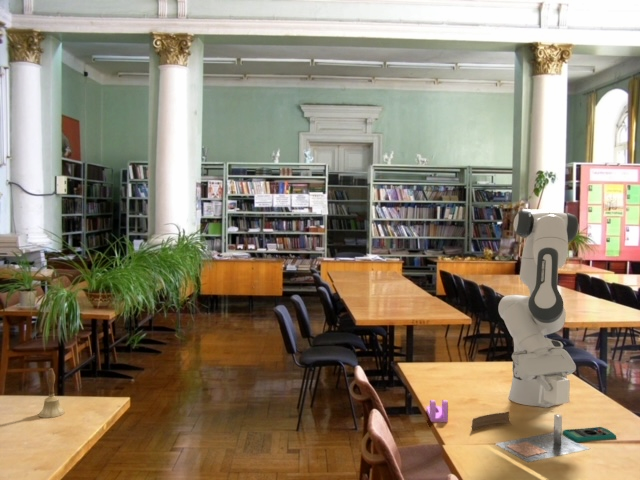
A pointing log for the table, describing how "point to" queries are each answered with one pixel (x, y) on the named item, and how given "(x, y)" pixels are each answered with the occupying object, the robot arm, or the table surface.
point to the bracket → (442, 411)
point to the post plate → (543, 444)
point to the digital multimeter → (589, 434)
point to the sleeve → (557, 390)
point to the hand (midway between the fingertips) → (558, 389)
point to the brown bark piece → (491, 420)
